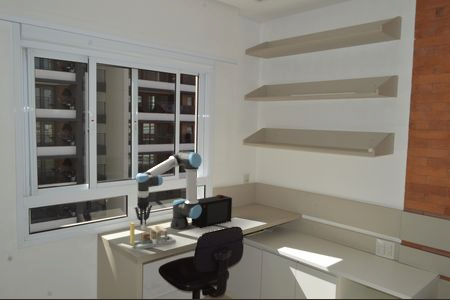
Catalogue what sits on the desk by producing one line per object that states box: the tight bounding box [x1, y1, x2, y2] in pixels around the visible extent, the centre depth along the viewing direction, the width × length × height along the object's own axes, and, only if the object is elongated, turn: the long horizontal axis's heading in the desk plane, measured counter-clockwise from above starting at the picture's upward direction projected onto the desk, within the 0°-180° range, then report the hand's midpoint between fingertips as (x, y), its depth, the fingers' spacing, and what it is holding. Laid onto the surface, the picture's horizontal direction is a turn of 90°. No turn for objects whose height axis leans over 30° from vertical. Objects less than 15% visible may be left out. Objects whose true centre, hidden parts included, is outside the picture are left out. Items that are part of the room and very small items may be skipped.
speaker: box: [191, 194, 233, 229], centre depth 302 cm, size 15×35×24 cm, turn 132°
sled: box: [129, 221, 153, 246], centre depth 241 cm, size 14×7×15 cm, turn 125°
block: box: [140, 231, 150, 241], centre depth 243 cm, size 5×5×5 cm
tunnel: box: [149, 225, 168, 243], centre depth 249 cm, size 8×12×8 cm, turn 35°
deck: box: [132, 234, 176, 251], centre depth 247 cm, size 29×12×2 cm, turn 125°
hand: (143, 229), depth 242 cm, fingers closed
